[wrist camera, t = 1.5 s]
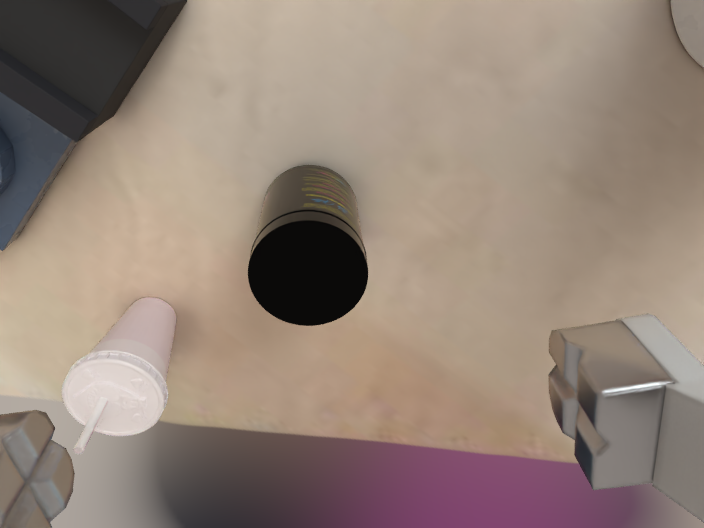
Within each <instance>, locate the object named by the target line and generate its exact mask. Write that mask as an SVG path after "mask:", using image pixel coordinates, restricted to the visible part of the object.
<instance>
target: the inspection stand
mask: <svg viewBox="0 0 704 528" xmlns="http://www.w3.org/2000/svg"><path fill="white" fill-rule="evenodd" d="M186 2H187V0H0V92H1V93H3V94H4V95H6V96H7V97H9V98H10V99H12V100H13V101H15V102H16V103H18V104H19V105H21V106H22V107H24V108H25V109H27V110H28V111H30V112H31V113H33V114H34V115H36V116H37V117H39V118H40V119H42V120H43V121H45V122H46V123H48V124H49V125H51V126H52V127H54V128H55V129H57V130H58V131H60V132H61V133H63V134H64V135H66V136H67V137H69V138H70V139H72V140H73V141H75V142H78V141H79V140H81V139H82V138H83V137H85V136H86V135H87V134H89V133H90V132H92V131H93V130H94V129H96V128H97V127H99V126H100V125H101V124H103V123H104V122H106V121H107V120H108V119H110V118H111V117H113V116H114V115H115V113H116V111H117V110H118V108H119V107H120V105H121V104H122V102H123V100H124V99H125V97H126V96H127V94H128V93H129V91H130V89H131V88H132V86H133V85H134V83H135V82H136V80H137V78H138V77H139V75H140V74H141V72H142V71H143V69H144V68H145V66H146V64H147V63H148V61H149V60H150V58H151V57H152V55H153V53H154V52H155V50H156V49H157V47H158V46H159V44H160V42H161V41H162V39H163V38H164V36H165V35H166V33H167V31H168V30H169V28H170V27H171V25H172V24H173V22H174V21H175V19H176V17H177V16H178V14H179V13H180V11H181V10H182V8H183V6H184V5H185V3H186Z"/></svg>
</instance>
